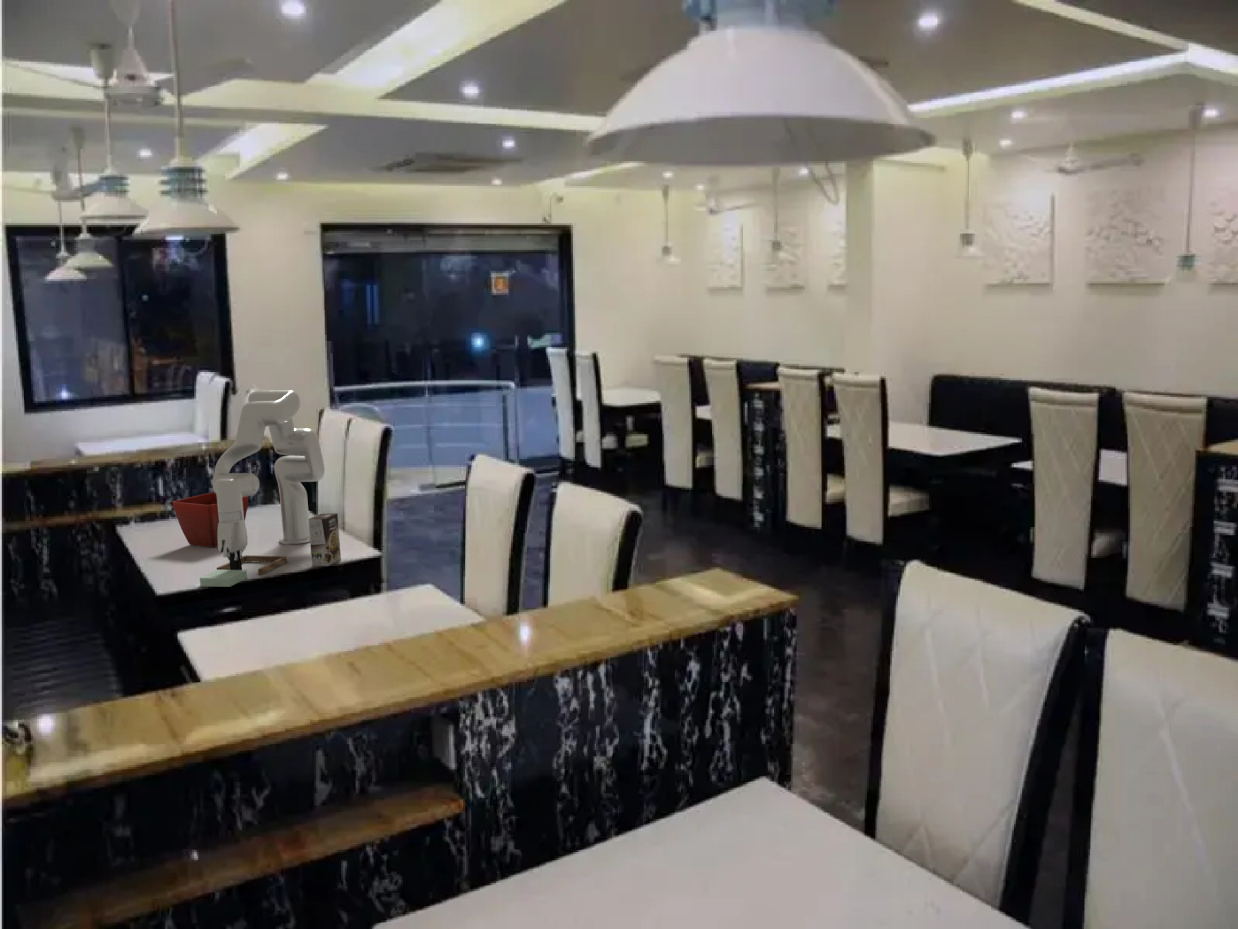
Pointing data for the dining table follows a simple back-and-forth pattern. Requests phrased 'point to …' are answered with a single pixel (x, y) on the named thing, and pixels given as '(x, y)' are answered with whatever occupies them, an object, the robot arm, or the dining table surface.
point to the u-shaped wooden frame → (274, 559)
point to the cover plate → (223, 578)
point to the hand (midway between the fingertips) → (236, 571)
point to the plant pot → (201, 518)
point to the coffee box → (324, 539)
